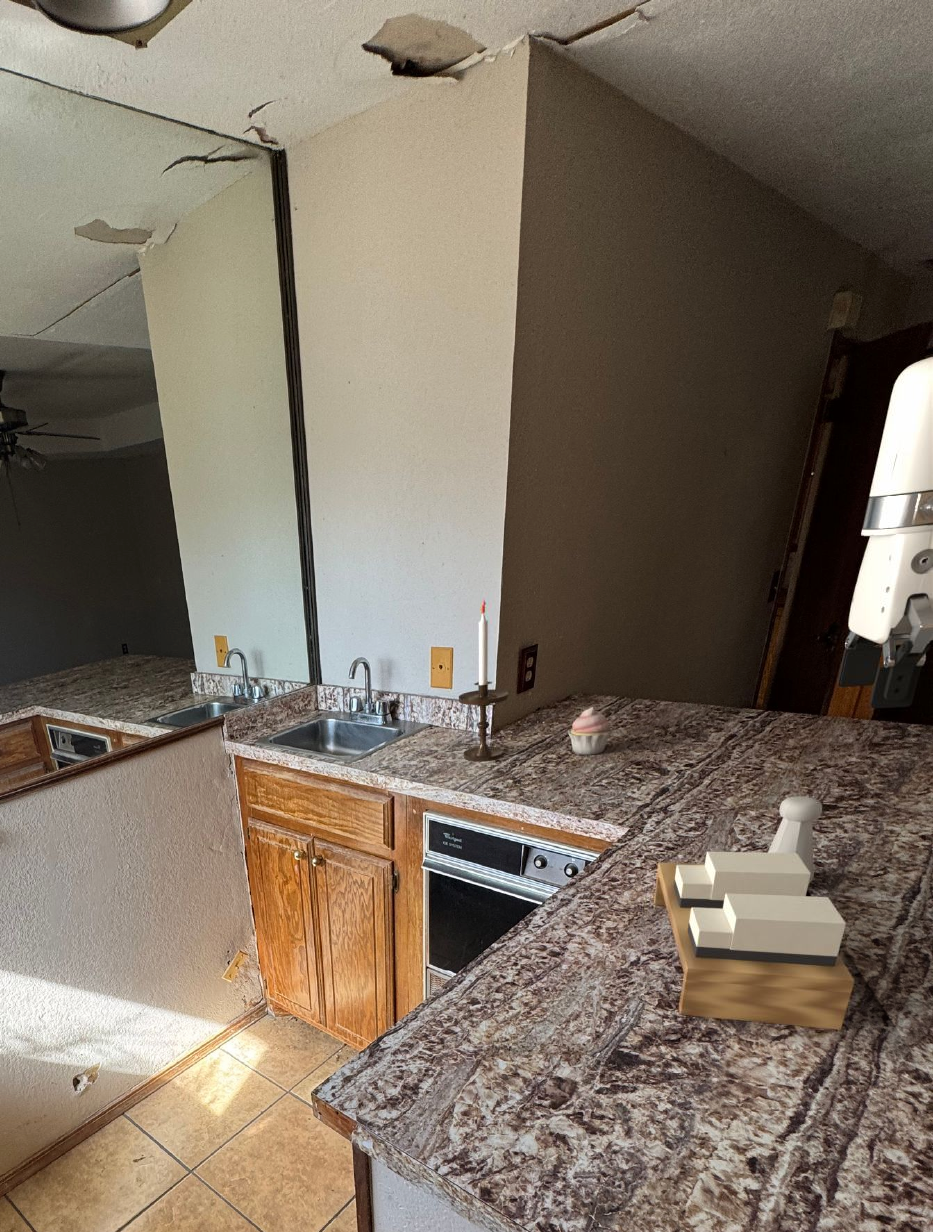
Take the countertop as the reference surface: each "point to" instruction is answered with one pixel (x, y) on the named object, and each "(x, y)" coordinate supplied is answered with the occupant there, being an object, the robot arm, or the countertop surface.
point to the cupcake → (590, 732)
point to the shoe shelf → (752, 979)
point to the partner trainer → (768, 929)
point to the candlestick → (483, 699)
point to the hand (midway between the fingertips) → (871, 695)
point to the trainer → (739, 877)
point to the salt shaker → (797, 829)
